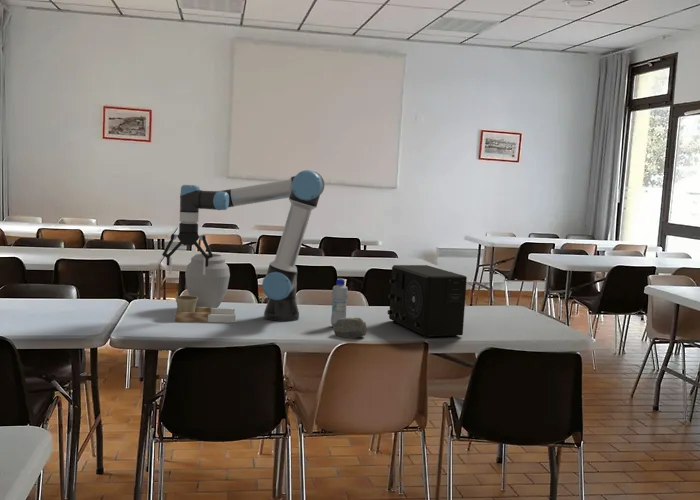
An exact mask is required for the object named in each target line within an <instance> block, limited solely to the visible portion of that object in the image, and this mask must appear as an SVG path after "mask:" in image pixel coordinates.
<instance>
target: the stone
mask: <svg viewBox="0 0 700 500" xmlns="http://www.w3.org/2000/svg"><path fill="white" fill-rule="evenodd" d="M367 332H368V326H367V324H366V322H365V321H363V319H362V318H361V317H346V318H342V319H338V320H337V321H336V323H335V327H333V333H334V335H335V336H338V337H342V338H349V339H351V338H352V339H357V338H362V337H364V336H367Z"/></svg>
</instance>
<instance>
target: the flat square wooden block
mask: <svg viewBox="0 0 700 500" xmlns="http://www.w3.org/2000/svg"><path fill="white" fill-rule="evenodd" d="M208 315H211V307H195V312H178V308H177V307H176V311H175V315H174V317H175V318H174V321H175V322H187V321H201V322H202V323H204V322H205V323H209V322H208ZM201 322H200V323H201Z"/></svg>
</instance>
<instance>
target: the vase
mask: <svg viewBox="0 0 700 500" xmlns="http://www.w3.org/2000/svg"><path fill="white" fill-rule="evenodd" d="M206 254H207V255H209V254H208V253H206ZM212 254H213V257H212V258H209V259H208V267H205V275H203V263H204V259H205V257H204V256H203V255H202V253H196V254H194V255H193V256H192V257H191V258H190V262H189V263H188V264H187V265H186V269H185V274H184V275H185V276H184V277H185V283H186V288H187V292H188V294H189V295H188V296H195V297H198V299H197V302H196V307H211V308H219V306H220V305H221V304H222V302H223V300H224V299H225V295H226V293H227V292H228V291H227V290H228V287H229V282H230V277H231V274H230V273H231V272H230V267H229V266H228V264H227V263H226V258H224V257H223V256H222V255H221V254H216V253H212Z"/></svg>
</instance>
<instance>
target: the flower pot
mask: <svg viewBox="0 0 700 500" xmlns="http://www.w3.org/2000/svg"><path fill="white" fill-rule="evenodd" d="M174 299H175V302H176V306H177V307H176V309H177V308H178V312H195V307H196V302H197V299H198V297H195V296H189V295H178V296H175V297H174Z"/></svg>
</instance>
